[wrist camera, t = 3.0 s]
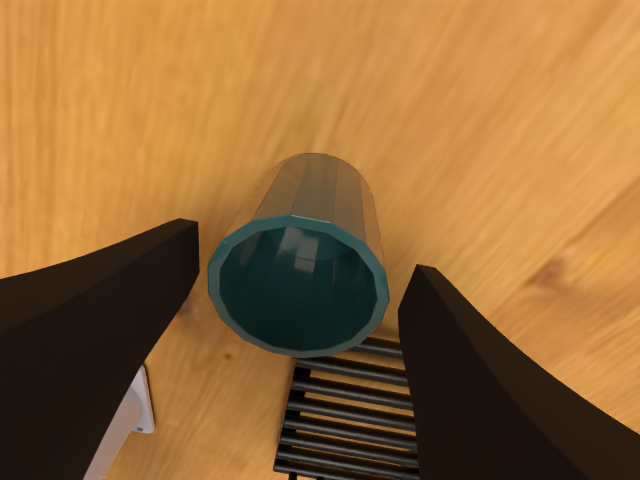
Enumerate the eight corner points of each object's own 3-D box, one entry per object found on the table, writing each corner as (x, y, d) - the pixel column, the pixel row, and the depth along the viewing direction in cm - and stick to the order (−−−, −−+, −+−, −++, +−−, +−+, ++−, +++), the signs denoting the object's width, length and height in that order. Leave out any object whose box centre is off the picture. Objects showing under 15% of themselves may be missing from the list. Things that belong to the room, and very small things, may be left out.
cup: (252, 248, 16) (207, 341, 11) (261, 141, 13) (206, 197, 8) (358, 269, 16) (362, 369, 11) (389, 166, 13) (414, 238, 8)
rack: (277, 444, 25) (255, 564, 19) (306, 303, 17) (285, 432, 11) (414, 469, 25) (433, 593, 19) (504, 340, 17) (581, 484, 12)
